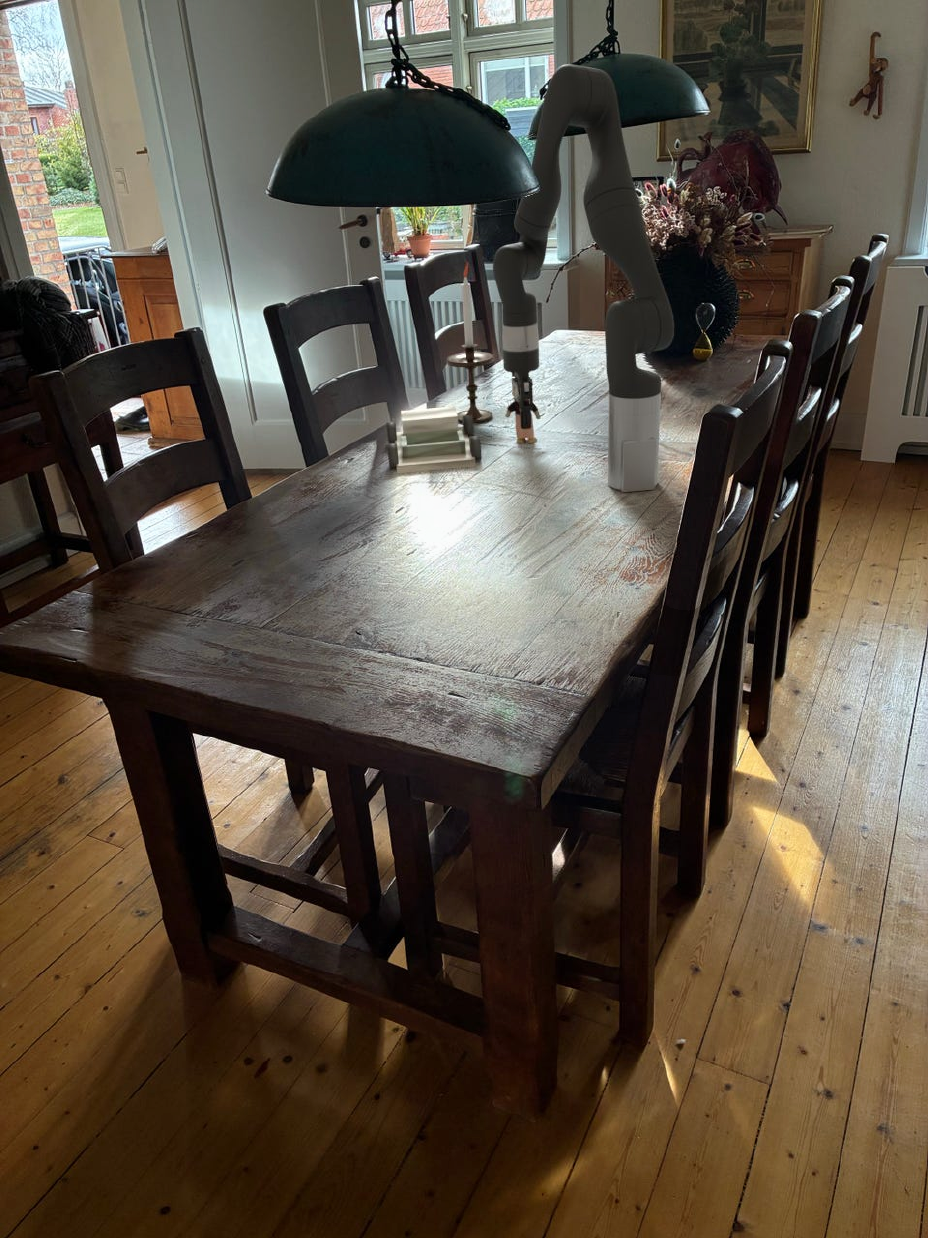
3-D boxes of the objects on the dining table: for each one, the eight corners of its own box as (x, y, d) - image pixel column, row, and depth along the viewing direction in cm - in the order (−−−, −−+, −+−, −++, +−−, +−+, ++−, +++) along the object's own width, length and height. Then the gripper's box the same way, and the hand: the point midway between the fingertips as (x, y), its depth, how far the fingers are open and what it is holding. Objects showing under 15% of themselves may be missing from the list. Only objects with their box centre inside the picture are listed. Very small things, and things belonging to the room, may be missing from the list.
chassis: (482, 465, 187) (481, 434, 184) (389, 473, 186) (386, 442, 183) (471, 432, 208) (470, 403, 205) (388, 439, 207) (385, 411, 204)
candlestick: (497, 411, 222) (490, 257, 206) (494, 424, 213) (487, 264, 196) (453, 413, 224) (442, 260, 207) (448, 425, 214) (437, 266, 198)
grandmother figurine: (541, 437, 201) (540, 379, 195) (541, 443, 198) (539, 384, 192) (506, 439, 202) (504, 381, 196) (505, 444, 199) (503, 385, 193)
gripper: (544, 351, 184) (545, 431, 192) (533, 337, 197) (535, 413, 205) (507, 354, 184) (510, 434, 192) (498, 340, 197) (502, 415, 204)
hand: (523, 423), depth 198 cm, fingers open, 7 cm apart
